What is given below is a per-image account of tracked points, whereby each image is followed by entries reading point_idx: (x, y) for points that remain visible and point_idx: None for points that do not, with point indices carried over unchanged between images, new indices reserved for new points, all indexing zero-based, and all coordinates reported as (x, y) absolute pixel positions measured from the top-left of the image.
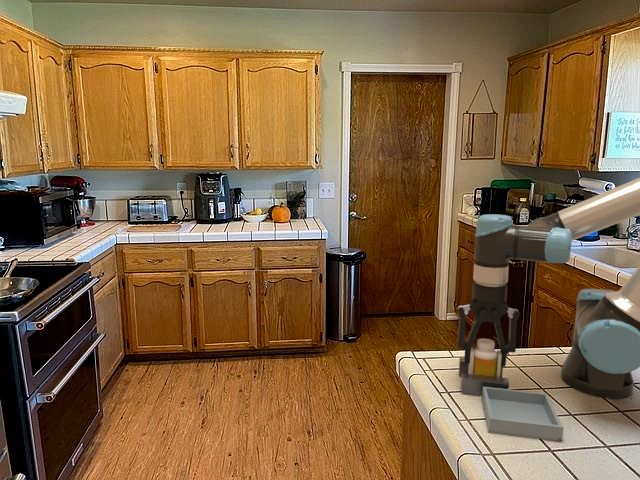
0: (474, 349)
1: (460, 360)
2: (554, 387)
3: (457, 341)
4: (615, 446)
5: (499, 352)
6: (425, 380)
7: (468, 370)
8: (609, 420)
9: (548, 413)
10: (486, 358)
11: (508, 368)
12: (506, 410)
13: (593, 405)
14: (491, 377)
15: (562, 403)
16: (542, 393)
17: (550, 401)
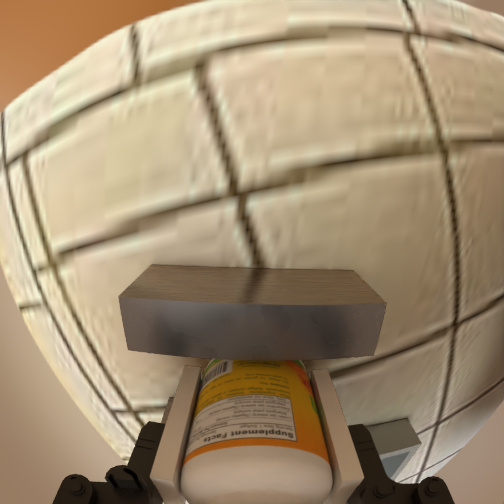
0: (183, 491)
1: (127, 338)
2: (486, 306)
3: (64, 488)
4: (432, 466)
5: (344, 496)
6: (57, 348)
7: (182, 376)
8: (482, 408)
9: (383, 465)
10: None
11: (407, 168)
12: None
13: (499, 367)
14: None
15: (452, 388)
16: (410, 447)
17: (403, 467)
